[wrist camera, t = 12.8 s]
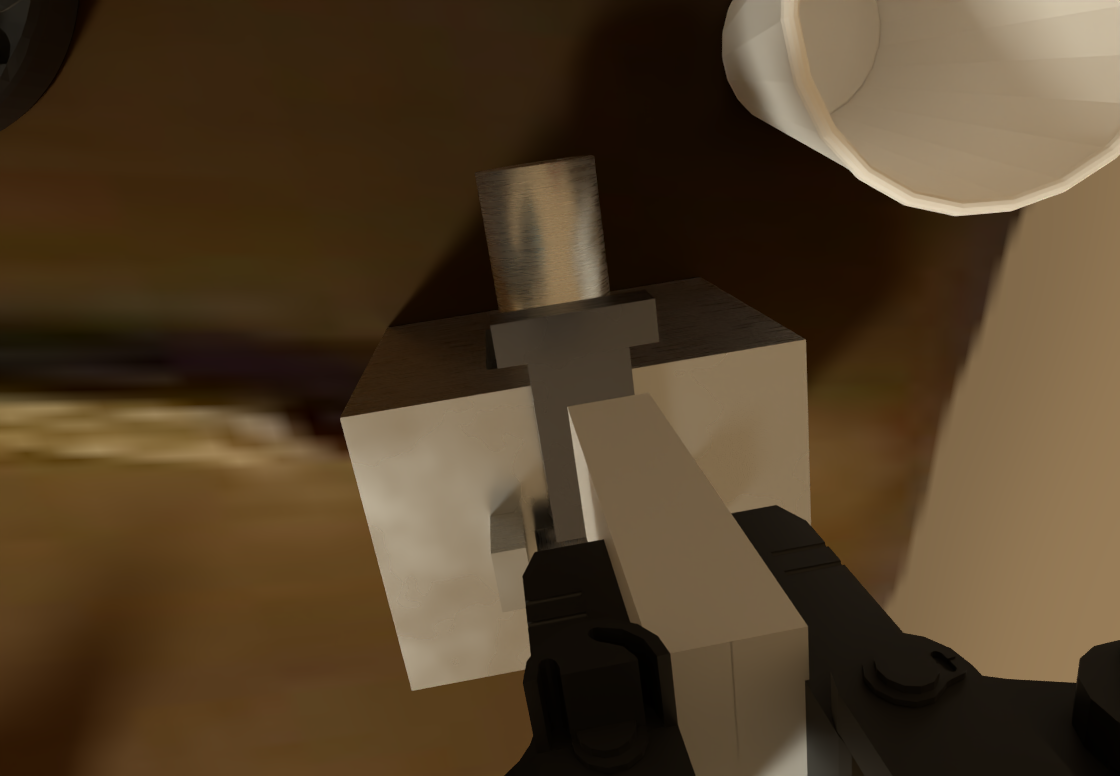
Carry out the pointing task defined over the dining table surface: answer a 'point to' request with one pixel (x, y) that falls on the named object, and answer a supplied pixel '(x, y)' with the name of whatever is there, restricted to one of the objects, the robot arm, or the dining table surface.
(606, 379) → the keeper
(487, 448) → the hitch block
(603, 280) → the pin
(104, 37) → the dining table surface
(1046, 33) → the cup
